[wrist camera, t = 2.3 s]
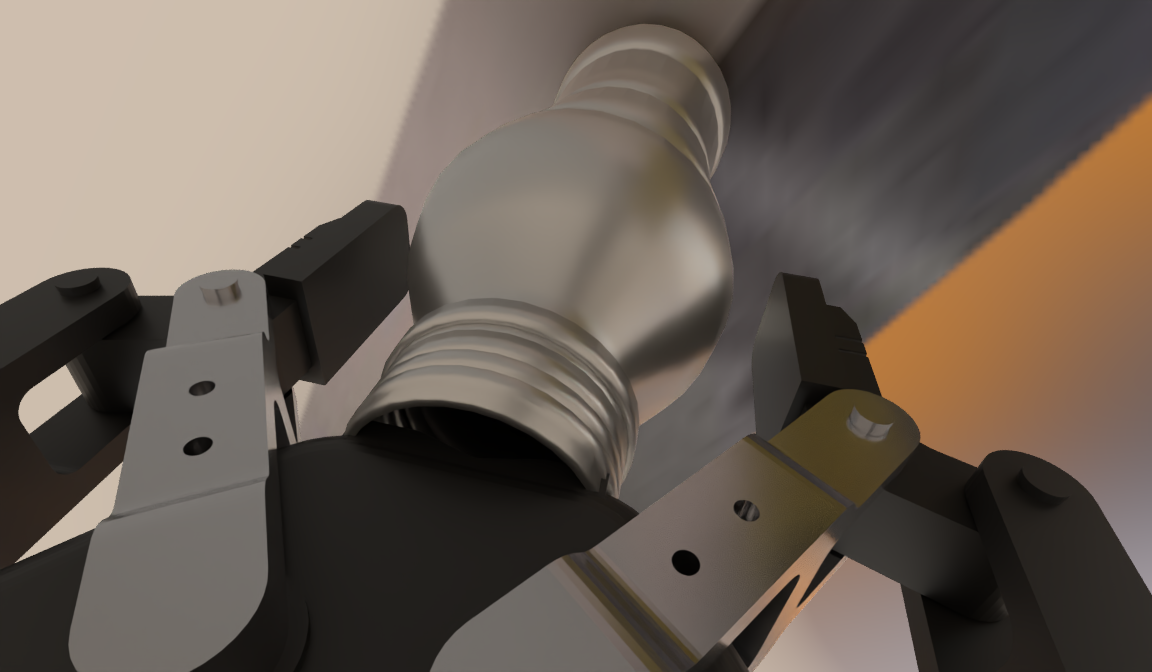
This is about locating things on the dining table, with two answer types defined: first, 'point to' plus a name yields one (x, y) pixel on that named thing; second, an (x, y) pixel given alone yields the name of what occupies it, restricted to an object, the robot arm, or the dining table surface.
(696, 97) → the plastic bottle
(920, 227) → the dining table surface
